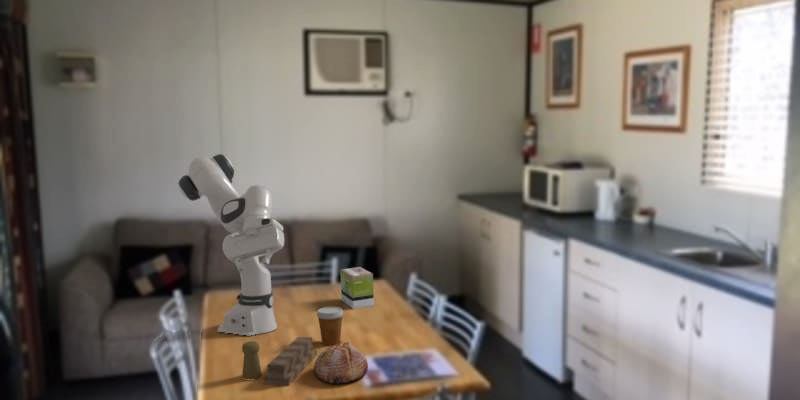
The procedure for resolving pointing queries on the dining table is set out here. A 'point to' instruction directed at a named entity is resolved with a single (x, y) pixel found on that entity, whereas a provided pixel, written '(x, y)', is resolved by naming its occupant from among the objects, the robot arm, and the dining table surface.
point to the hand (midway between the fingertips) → (253, 267)
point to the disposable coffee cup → (330, 324)
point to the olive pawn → (251, 361)
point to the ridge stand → (290, 362)
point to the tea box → (357, 287)
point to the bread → (340, 364)
